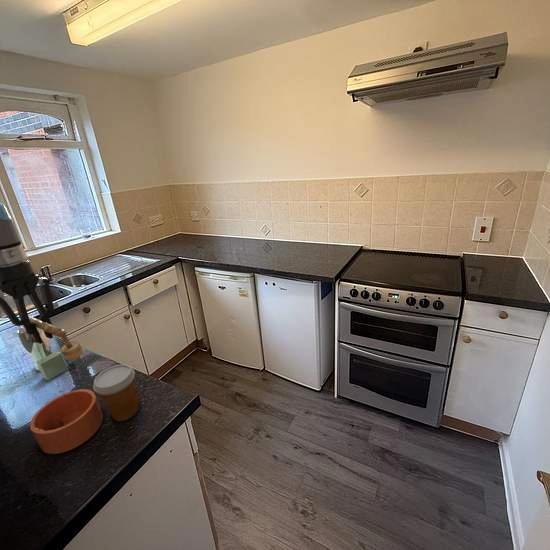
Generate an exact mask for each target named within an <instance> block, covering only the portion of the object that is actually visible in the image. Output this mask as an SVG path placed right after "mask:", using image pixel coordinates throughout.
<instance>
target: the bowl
mask: <svg viewBox="0 0 550 550" xmlns="http://www.w3.org/2000/svg"><path fill="white" fill-rule="evenodd" d="M56 420H61V421H62V422H63V423H64V426H63V427H60V428H57V429H54V430H50V425H51V423H52V422H54V421H56ZM103 420H104V414H103V411H102V408H101V405H100V403H99V401H98V398H97V396H96V394H95V391H92V390H90V389H82V388H81V389H76V390H71V391H69V392H66V393H63V394H60V395H59V396H57V397H54V398H53V399H51V400H50V401H48V402H46V403H45V404H44V405H43V406H41V408H39V409H38V410H37V411H36V413H35V414H34V415H33V416H32V418H31V420H30V422H29V428H30V432H31V433H32V435H33V436H34V439H35V440H36V442H37V445H38V446H39V448H40V449H41V451H42V452H43V453H45V454H49V455H57V454H62V453H67V452H68V451H71V450H73V449H76V448H78V447H79V446H81V445H82V444H84V443H86V441H88V440H89V439H90V438H92V436H94V435H95V434H96V433H97V431H98V430H99V428H101V425H102V423H103Z"/></svg>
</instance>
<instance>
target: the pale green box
mask: <svg viewBox="0 0 550 550" xmlns="http://www.w3.org/2000/svg"><path fill="white" fill-rule="evenodd" d="M36 363H37V365H38V367H39V369H40V370H39V371H40V374H41V376H42V378H43V379H44V380H46V381H47V382H48V381H50V380H52V379H55V377H56V378H57V376H59V375H61V374H63V373H64V372H66V371H67V370H69V369H68V365H67V364H66V361H65V358H64V356H63V354H62V352H59V351H56V350H55V351H54V352H52V354H50V355H48V356H47V357H45V358H43V359H41V360H39V361H37V362H36Z"/></svg>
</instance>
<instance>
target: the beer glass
mask: <svg viewBox="0 0 550 550" xmlns="http://www.w3.org/2000/svg"><path fill="white" fill-rule="evenodd" d="M36 328H37V327H36ZM37 330H38V332H39V334H40V337H41V339H42V341H43V343H41V344H39V343H37V342H36V341H35V339H34V337H33V335H29V334H28V333H27V332H26V330H25V328H24V326H23V325H22V326H20V327H19V328H18V329H17V330H16V333H17V335H18V338H19V341H20V343H21V345H22V347H23V348H24V351H26V352H27V354H28V355H29V356H30V357H31V359H32V360H33V361H32V362H33V364H34V368H35V371H40V369H39V367H38V365H37V363H36V362H37V361H39V360H41V359H43V358H45V357H47V356H48V355H50V354H52V353H53V352H52V349H51V344H50V343H51V342H50V338H47V337H46V335H45V333H44V331H43V330H42V329H39V328H37Z"/></svg>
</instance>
